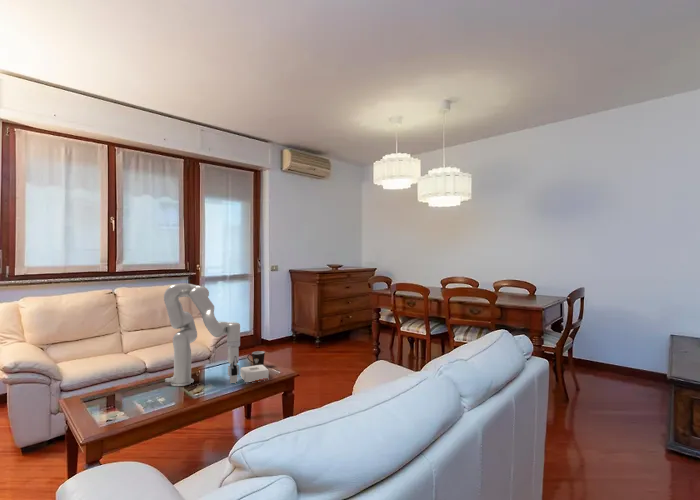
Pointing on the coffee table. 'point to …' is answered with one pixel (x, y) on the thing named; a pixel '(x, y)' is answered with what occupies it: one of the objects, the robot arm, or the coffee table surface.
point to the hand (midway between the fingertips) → (233, 373)
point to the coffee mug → (257, 358)
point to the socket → (253, 373)
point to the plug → (234, 378)
